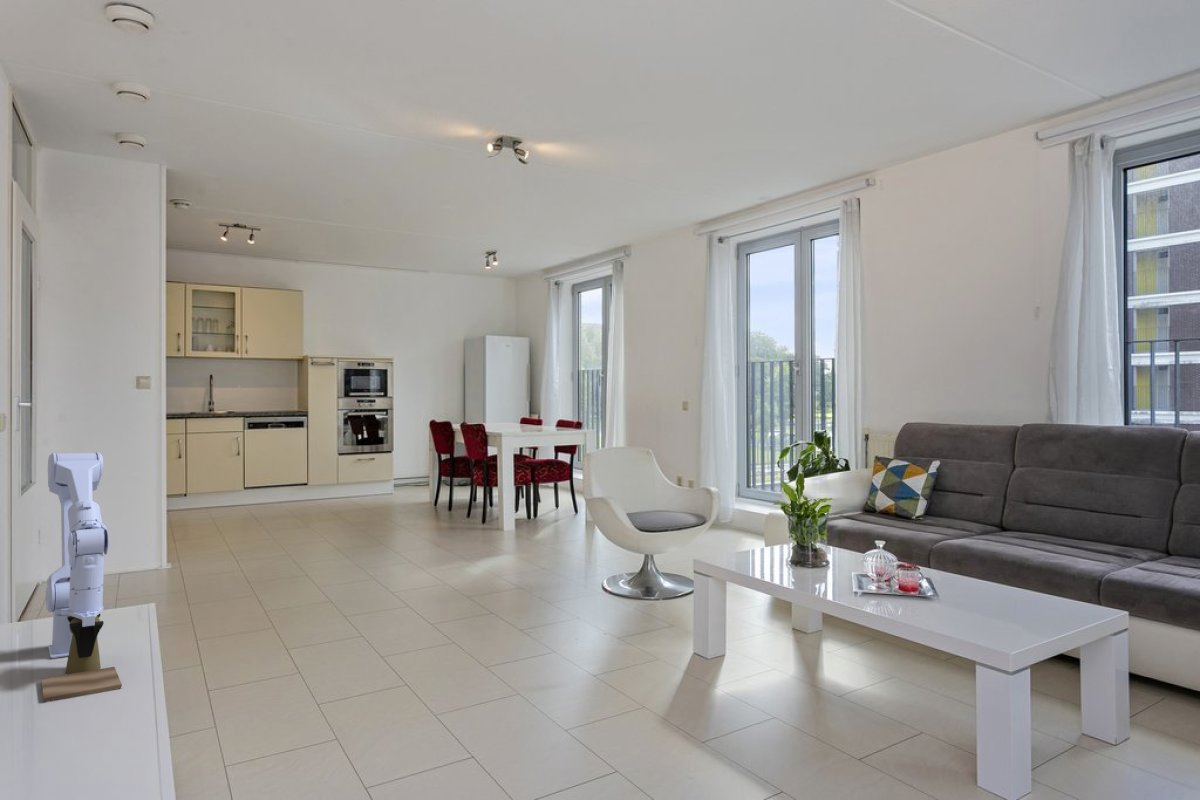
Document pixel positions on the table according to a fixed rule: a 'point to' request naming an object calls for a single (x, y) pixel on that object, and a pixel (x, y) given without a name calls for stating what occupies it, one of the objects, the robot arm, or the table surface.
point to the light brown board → (80, 684)
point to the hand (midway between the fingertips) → (83, 653)
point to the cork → (84, 663)
